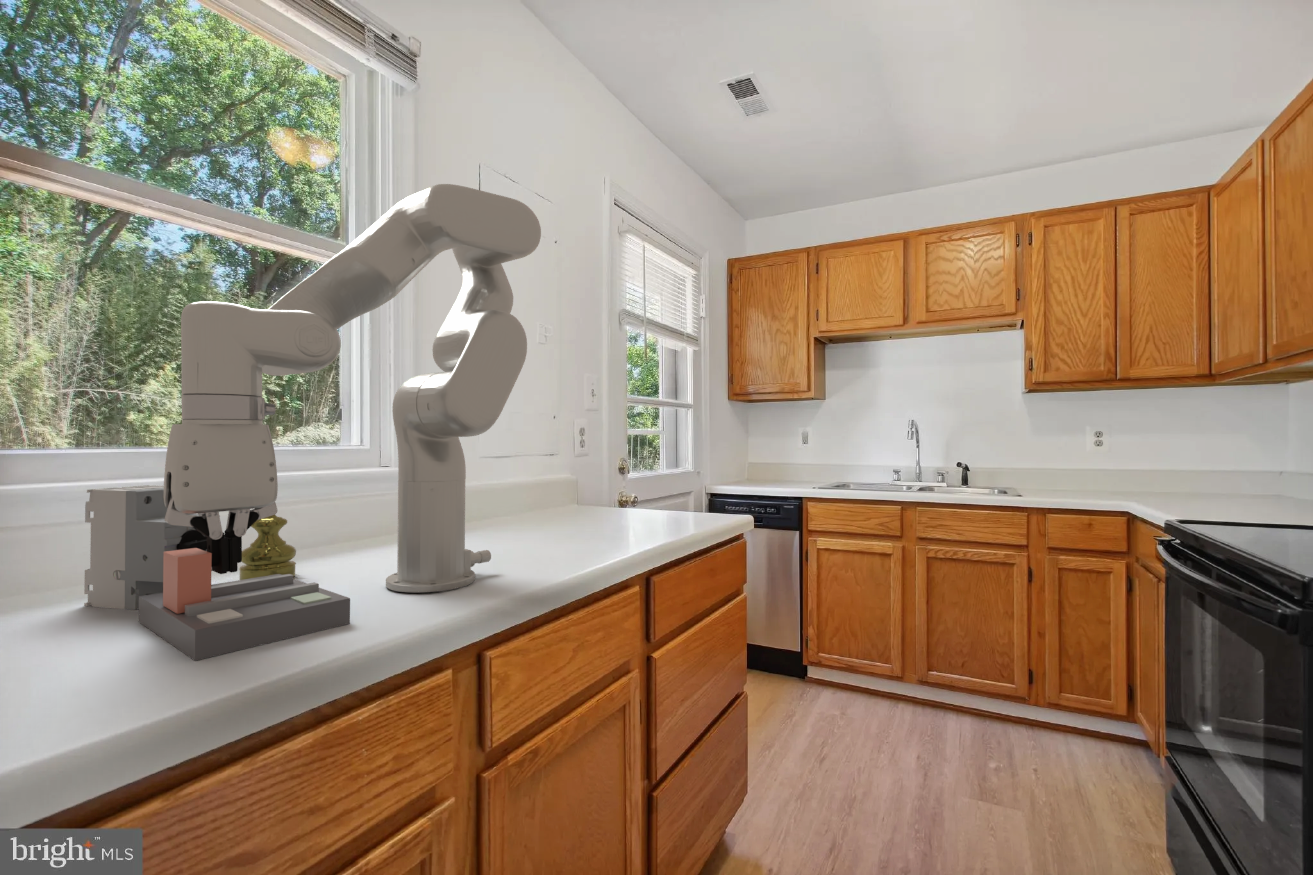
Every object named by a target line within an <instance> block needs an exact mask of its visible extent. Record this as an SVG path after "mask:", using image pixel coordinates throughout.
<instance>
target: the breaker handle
mask: <svg viewBox="0 0 1313 875" xmlns="http://www.w3.org/2000/svg"><path fill="white" fill-rule="evenodd" d="M211 560H212V553H210V552H207V551H204V550H201V549H198V548H191V549H183V550H174V551H165V552H164V556H163V606H164V607H166V608H168V609H170V610H171V611H173V612H175V613H176V614H179V613H185V605H189V604H194V603H200V602H206V601H211V585H212V571H211Z"/></svg>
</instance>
